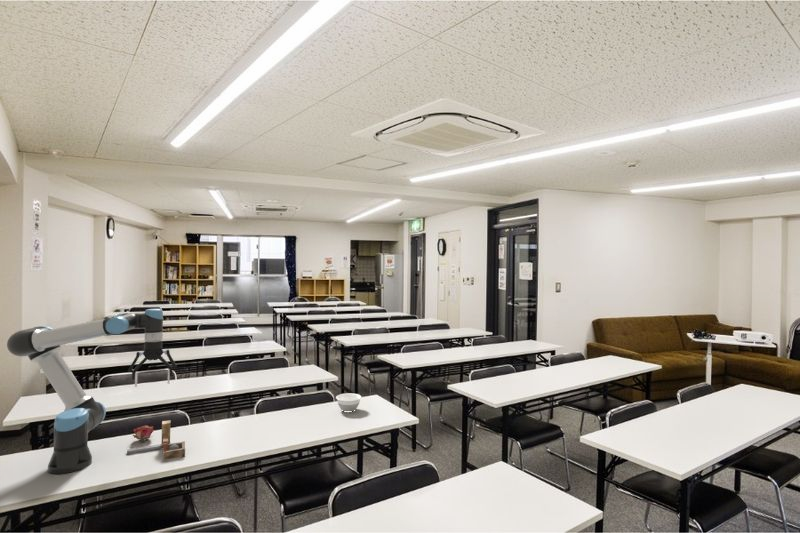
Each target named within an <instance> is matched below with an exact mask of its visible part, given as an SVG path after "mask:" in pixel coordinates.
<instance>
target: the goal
mask: <svg viewBox="0 0 800 533" xmlns="http://www.w3.org/2000/svg"><path fill="white" fill-rule="evenodd" d="M185 442H186V440H185V441H178V442H170V443H171V444H167V451H162V458H163V459H162V461H167V460H172V459H179V458H184V457H186V443H185ZM173 444H176V445H178V446H179V449H175V450H169V451H168V449H169V447H170V446H171V445H173Z"/></svg>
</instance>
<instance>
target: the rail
mask: <svg viewBox="0 0 800 533" xmlns="http://www.w3.org/2000/svg"><path fill="white" fill-rule="evenodd" d="M171 443H172V442H170V444H171ZM126 450H127V451H126V455H133V454H139V453H143V452H144V453H145V452H150V451H157V450H163V446H161V443H159V444H153V445H152V444H151V445H147V446H141V447H134V448H128V449H126Z"/></svg>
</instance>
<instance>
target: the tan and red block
mask: <svg viewBox="0 0 800 533" xmlns="http://www.w3.org/2000/svg"><path fill="white" fill-rule="evenodd" d="M171 422H172V421H171V419H170V420H169V419H168V420H162V421H161V442H160V444H161V446H163V449H162V450H163V451H167V444H170V443H171V425H172V424H171ZM163 451H162V452H163Z"/></svg>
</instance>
